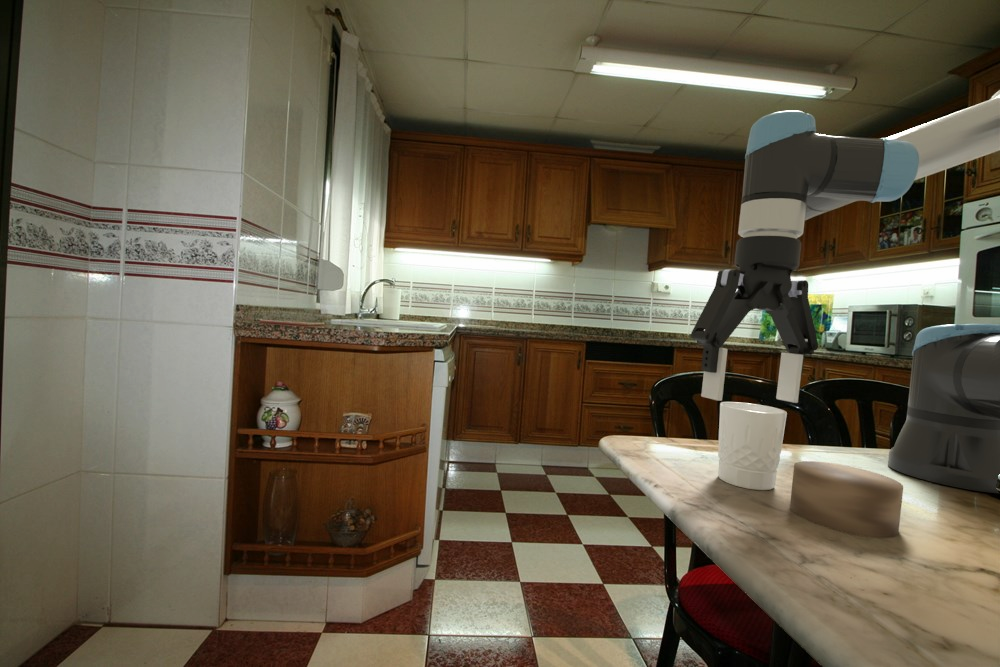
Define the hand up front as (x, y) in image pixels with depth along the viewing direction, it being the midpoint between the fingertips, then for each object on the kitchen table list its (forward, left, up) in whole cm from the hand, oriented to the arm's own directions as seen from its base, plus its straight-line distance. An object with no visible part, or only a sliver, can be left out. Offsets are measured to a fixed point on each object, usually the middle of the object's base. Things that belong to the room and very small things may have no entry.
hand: (750, 400), depth 67 cm
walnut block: (-5, +11, -11) cm, 17 cm away
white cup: (0, 0, -11) cm, 11 cm away
